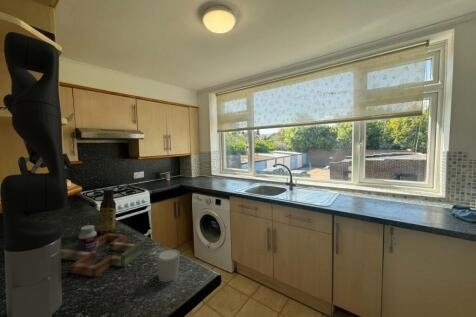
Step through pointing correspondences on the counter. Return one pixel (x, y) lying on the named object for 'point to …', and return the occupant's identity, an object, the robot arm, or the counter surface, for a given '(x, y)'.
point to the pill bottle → (87, 239)
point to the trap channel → (94, 270)
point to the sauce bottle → (107, 212)
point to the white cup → (168, 264)
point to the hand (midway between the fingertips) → (52, 181)
